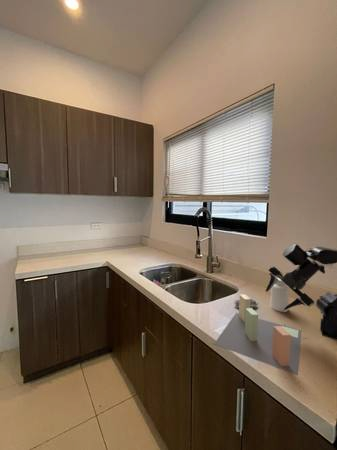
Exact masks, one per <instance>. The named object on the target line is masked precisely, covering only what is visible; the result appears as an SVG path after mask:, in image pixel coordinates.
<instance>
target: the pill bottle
mask: <svg viewBox="0 0 337 450" xmlns="http://www.w3.org/2000/svg"><path fill="white" fill-rule="evenodd" d="M277 279H278V281H277V282H276V283H275V284H274V286H273V287H272V288H271V289H270V304H269V305H270V308H271V310H272V309H273V310H274V311H278V312H280V313H287V312H288V311H289V309H286V310H284V308H285V307H286V306H288V305H289V304H290V287H288V286H287V285H286V284H285V283H284V282H283V281H282V280H281V279H279V278H277Z"/></svg>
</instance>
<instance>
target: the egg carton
mask: <svg viewBox="0 0 337 450" xmlns="http://www.w3.org/2000/svg"><path fill="white" fill-rule="evenodd" d="M239 301H240V299H237V300H234V302H233V304H235V305H234V306H235V308H236V309H239ZM258 305H260V304H259V302H256V301H255V300H254V299H252V298H250V308H252V309H253V308H254V309H257V307H258ZM254 309H253V310H254Z"/></svg>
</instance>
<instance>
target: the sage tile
mask: <svg viewBox="0 0 337 450" xmlns="http://www.w3.org/2000/svg"><path fill="white" fill-rule="evenodd" d="M258 319H259V313H257V312H256V311H255V310H254V309H252V308H246V311H245V334H246V336H247V337H248V338H249V339H250V341H257V333H258Z"/></svg>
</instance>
